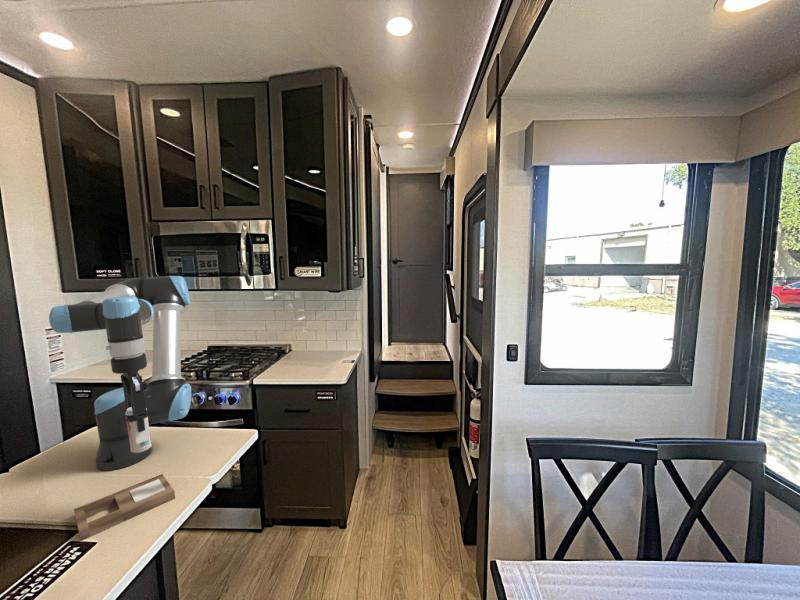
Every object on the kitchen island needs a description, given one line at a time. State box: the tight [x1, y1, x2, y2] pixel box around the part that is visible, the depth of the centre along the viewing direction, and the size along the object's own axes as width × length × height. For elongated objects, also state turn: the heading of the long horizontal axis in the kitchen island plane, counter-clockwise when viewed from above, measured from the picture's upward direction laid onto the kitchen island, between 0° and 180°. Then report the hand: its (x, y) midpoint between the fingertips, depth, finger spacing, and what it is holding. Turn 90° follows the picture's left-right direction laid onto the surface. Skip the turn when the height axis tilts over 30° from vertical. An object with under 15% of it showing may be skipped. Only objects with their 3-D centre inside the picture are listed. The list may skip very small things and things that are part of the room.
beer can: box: [125, 407, 153, 453], centre depth 100 cm, size 5×5×12 cm
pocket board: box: [73, 473, 176, 542], centre depth 99 cm, size 12×20×2 cm, turn 136°
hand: (139, 438), depth 100 cm, fingers closed on beer can, 5 cm apart
